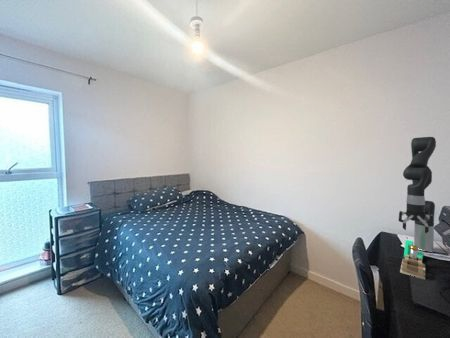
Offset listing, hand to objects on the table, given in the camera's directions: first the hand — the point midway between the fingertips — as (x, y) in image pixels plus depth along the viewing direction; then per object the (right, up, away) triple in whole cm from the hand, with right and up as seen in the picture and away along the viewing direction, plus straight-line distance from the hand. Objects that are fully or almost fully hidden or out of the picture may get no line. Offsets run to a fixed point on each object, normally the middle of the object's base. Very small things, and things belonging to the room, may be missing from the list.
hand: (415, 231), depth 114 cm
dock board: (-4, -20, -3) cm, 21 cm away
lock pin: (0, -19, +1) cm, 19 cm away
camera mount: (+9, -20, +10) cm, 24 cm away
